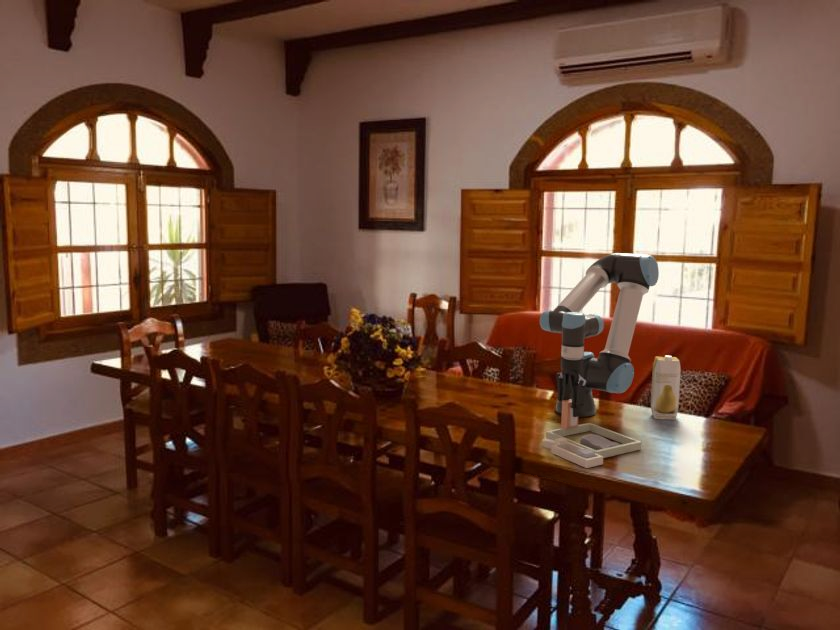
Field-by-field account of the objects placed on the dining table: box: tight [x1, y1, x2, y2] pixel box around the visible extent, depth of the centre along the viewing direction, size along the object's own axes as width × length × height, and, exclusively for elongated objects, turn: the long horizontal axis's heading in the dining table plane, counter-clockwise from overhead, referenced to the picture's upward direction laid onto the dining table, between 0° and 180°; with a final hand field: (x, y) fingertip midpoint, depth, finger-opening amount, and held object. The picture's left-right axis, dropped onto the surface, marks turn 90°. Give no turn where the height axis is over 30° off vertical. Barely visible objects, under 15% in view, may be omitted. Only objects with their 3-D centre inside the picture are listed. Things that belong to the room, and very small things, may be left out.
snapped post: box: [541, 437, 555, 449], centre depth 238 cm, size 5×2×2 cm, turn 51°
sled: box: [551, 438, 604, 469], centre depth 227 cm, size 17×7×4 cm, turn 31°
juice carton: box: [650, 354, 682, 421], centre depth 271 cm, size 9×8×24 cm
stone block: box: [579, 433, 621, 450], centre depth 236 cm, size 12×5×10 cm
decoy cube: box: [576, 448, 595, 459], centre depth 223 cm, size 4×4×4 cm
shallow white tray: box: [545, 399, 643, 459], centre depth 240 cm, size 25×20×12 cm
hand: (569, 423), depth 250 cm, fingers closed on shallow white tray, 3 cm apart
